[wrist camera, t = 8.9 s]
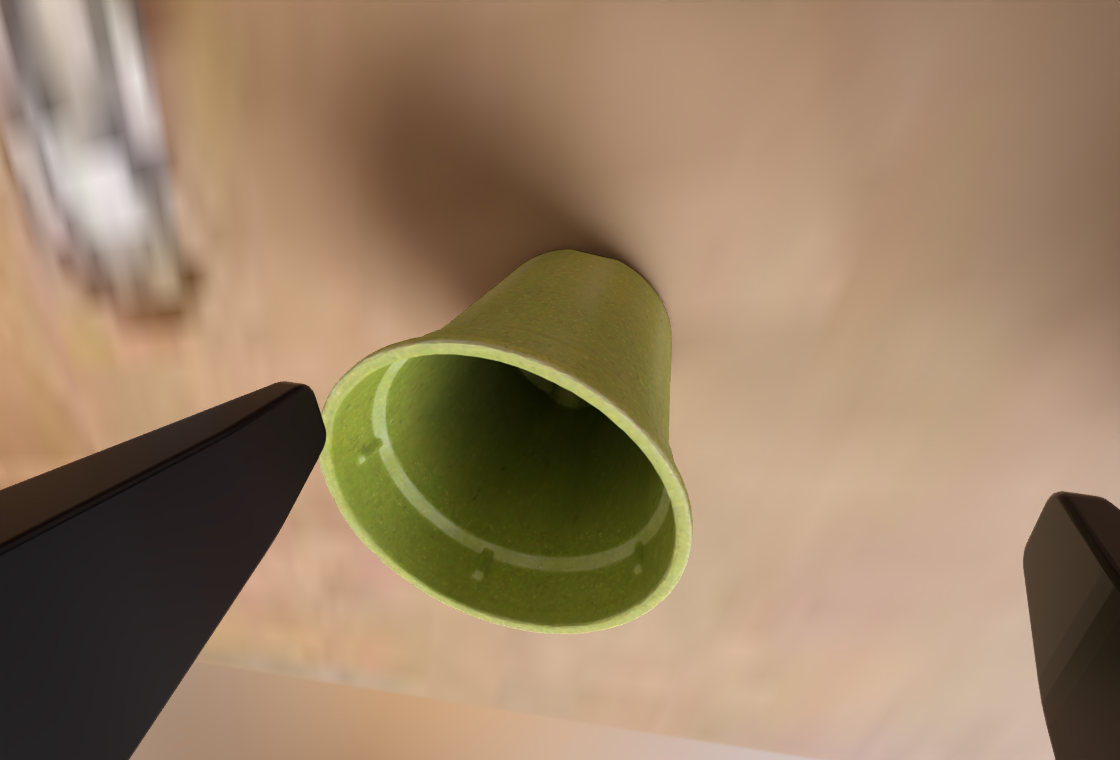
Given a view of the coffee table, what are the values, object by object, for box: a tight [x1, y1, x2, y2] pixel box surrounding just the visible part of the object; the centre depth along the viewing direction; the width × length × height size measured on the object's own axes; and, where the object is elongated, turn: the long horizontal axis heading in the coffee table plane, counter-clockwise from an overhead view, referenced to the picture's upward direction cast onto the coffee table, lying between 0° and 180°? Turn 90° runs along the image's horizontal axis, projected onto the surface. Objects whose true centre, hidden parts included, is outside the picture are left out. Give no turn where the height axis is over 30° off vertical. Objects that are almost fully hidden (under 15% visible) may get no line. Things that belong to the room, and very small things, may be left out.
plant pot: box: [319, 249, 692, 634], centre depth 19 cm, size 9×9×9 cm
